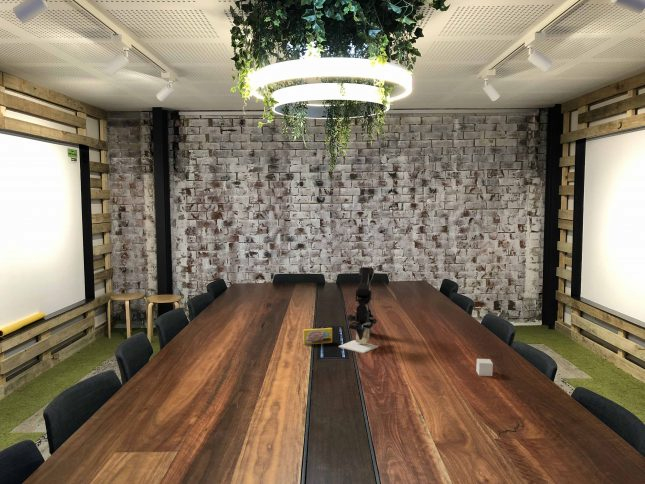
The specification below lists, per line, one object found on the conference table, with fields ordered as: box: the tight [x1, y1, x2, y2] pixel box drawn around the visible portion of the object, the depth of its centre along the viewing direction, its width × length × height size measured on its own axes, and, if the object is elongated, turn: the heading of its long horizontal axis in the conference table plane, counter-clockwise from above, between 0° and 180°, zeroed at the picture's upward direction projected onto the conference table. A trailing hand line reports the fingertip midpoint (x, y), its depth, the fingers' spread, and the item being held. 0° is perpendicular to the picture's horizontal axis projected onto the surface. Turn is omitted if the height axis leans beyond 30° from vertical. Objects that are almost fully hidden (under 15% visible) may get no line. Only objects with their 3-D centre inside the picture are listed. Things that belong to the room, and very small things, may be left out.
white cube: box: [475, 358, 494, 377], centre depth 231 cm, size 6×6×6 cm
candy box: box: [302, 327, 333, 346], centre depth 274 cm, size 16×2×8 cm, turn 105°
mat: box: [338, 339, 379, 354], centre depth 268 cm, size 14×16×1 cm
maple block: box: [355, 327, 370, 344], centre depth 271 cm, size 4×6×8 cm, turn 51°
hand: (362, 338), depth 271 cm, fingers closed on maple block, 4 cm apart
